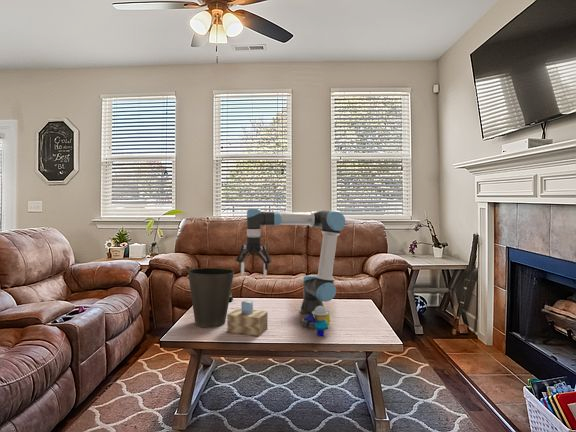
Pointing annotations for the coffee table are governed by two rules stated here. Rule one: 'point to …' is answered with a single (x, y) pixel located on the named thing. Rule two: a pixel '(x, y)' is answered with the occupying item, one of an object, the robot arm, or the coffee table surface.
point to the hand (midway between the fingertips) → (253, 274)
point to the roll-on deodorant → (247, 307)
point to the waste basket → (210, 295)
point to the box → (247, 325)
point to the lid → (255, 315)
